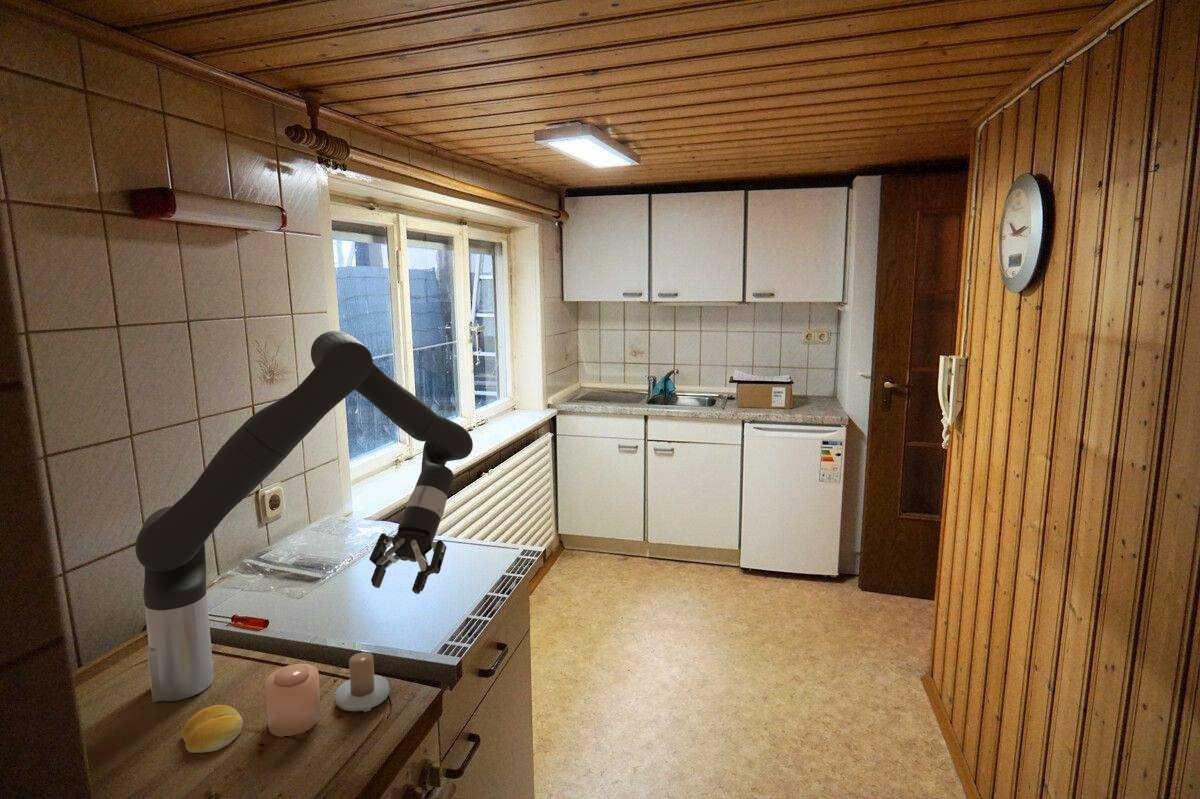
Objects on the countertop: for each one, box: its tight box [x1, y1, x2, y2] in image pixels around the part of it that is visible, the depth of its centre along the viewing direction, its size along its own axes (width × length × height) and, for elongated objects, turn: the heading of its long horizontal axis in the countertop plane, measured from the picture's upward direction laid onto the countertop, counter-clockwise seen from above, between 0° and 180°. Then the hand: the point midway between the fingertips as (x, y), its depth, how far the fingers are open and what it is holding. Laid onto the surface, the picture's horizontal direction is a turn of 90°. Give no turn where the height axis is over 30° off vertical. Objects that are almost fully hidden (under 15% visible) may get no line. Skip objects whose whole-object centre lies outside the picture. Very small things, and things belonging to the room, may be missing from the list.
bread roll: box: [182, 704, 244, 754], centre depth 103 cm, size 8×9×4 cm
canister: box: [264, 663, 321, 738], centre depth 107 cm, size 8×8×9 cm
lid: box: [334, 651, 390, 713], centre depth 112 cm, size 9×9×8 cm
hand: (395, 589), depth 122 cm, fingers open, 8 cm apart
